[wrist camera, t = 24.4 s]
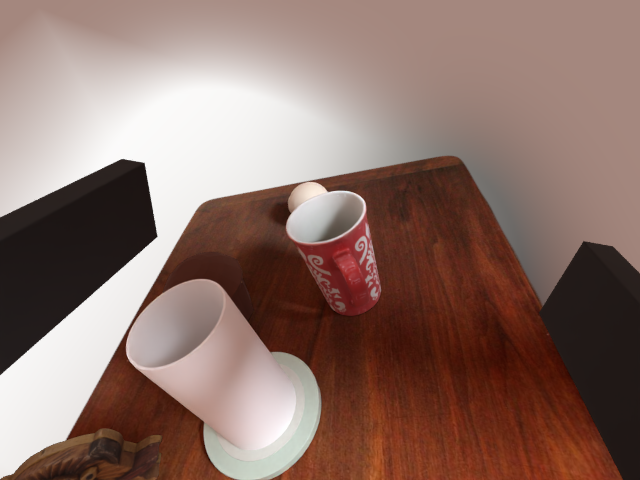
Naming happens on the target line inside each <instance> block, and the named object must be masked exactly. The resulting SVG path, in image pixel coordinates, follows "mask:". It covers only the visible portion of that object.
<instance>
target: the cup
mask: <svg viewBox="0 0 640 480" xmlns="http://www.w3.org/2000/svg"><path fill="white" fill-rule="evenodd" d="M126 353H127V357H128V359H129V361H130V362H131V363H132V365H133V366H134V367H135V368H136V369H138V370H139V371H140V372H141V373H143V374H144V375H145V376H147V377H148V378H149V379H150V380H152V381H153V382H154V383H155V384H157V385H158V386H159V387H160V388H162V389H163V390H164V391H166V392H167V393H168V394H169V395H171V396H172V397H173V398H174V399H176V400H177V401H178V402H180V403H181V404H182V405H183V406H185V407H186V408H187V409H189V410H190V411H191V412H192V413H194V414H195V415H196V416H197V417H199V418H200V419H201V420H203V421H204V422H205V423H206V424H208V425H209V426H210V427H211V428H213V429H214V430H215V431H217V432H218V433H219V434H220V435H222V436H223V437H224V438H225V439H227V440H228V441H229V442H231V443H232V444H233V445H234V446H236V447H238V448H240V449H243V450H258V449H261V448H264V447H266V446H268V445H270V444H272V443H273V442H274V441H276V440H277V439H278V438H279V437H280V436H281V435H282V434H283V433H284V431H285V430H286V429H287V427H288V426H289V424H290V422H291V420H292V418H293V415H294V412H295V407H296V393H295V389H294V386H293V384H292V382H291V381H290V379H289V378H288V376H287V375H286V374H285V372H284V371H283V370H282V368H281V367H280V365H279V364H278V363H277V361H276V360H275V359H274V357H273V356H272V354H271V353H270V352H269V350H268V349H267V348H266V346H265V345H264V344H263V342H262V341H261V339H260V338H259V337H258V335H257V334H256V333H255V331H254V330H253V328H252V327H251V326H250V324H249V323H248V322H247V320H246V319H245V318H244V316H243V315H242V313H241V312H240V311H239V309H238V308H237V307H236V305H235V304H234V302H233V301H232V300H231V298H230V297H229V296H228V294H227V293H226V292H225V290H224V289H223V288H222V287H221V286H220V285H219V284H218V283H216V282H214V281H212V280H208V279H196V280H190V281H187V282H184V283H181V284H179V285H176V286H174V287H172V288H170V289H169V290H167V291H166V292H164V293H162V294H161V295H160V296H158V297H157V298H156V299H155V300H154V301H152V302H151V303H150V304H149V305H148V306H147V307H146V308H145V309H144V310H143V312H142V313H141V314H140V315H139V317H138V318H137V319H136V321H135V323H134V324H133V326H132V328H131V330H130V332H129V335H128V338H127V343H126Z"/></svg>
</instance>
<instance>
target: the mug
mask: <svg viewBox="0 0 640 480" xmlns="http://www.w3.org/2000/svg"><path fill="white" fill-rule="evenodd" d="M366 210H367V208H366V204H365V201H364V200H363V199H362V198H361V197H360V196H359V195H357V194H355V193H352V192H348V191H333V192H327V193H323V194H320V195H317V196H314V197H312V198H310V199H308V200H306V201H305V202H303V203H302V204H301V205H299V206H298V207H297V208H296V209H295V210H294V211H293V212H292V213H291V215H290V216H289V218H288V220H287V223H286V232H287V235H288V237H289V238H290V239H291V240H292V241H293V242H294V243H295V245H296V247H297V249H298V251H299V253H300V254H301V256H302V258H303V259H304V261H305V263H306V265H307V267H308V268H309V270H310V271H311V273H312V275H313V277H314V279H315V281H316V283H317V284H318V286H319V288H320V290H321V291H322V293H323V295H324V297H325V299H326V301H327V302H328V304H329V306H330V307H331V308H332V309H333V310H334V311H335V312H337V313H339V314H342V315H347V316H353V315H359V314H362V313H364V312H366V311H368V310H369V309H371V308H372V307H373V306H374V305H375V304H376V303H377V301H378V299H379V297H380V294H381V286H380V281H379V276H378V271H377V266H376V261H375V256H374V251H373V247H372V241H371V236H370V231H369V226H368V221H367V216H366Z"/></svg>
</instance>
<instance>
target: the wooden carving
mask: <svg viewBox="0 0 640 480" xmlns="http://www.w3.org/2000/svg"><path fill="white" fill-rule="evenodd" d="M161 441H162V436H161V435H152V436H149V437H147V438H145V439H144V440H142V441H140V442H138V443H132V442H128V441H124V439H123V437H122V435H121V434H120V433H119V432H117V431H115V430H112V429H99V430H98V431H97V432H96V433H93V434H87V435H83V436H78V437H75V438H72V439H69V440H66V441H63V442H60V443H56V444H53V445H51V446H49V447H47V448H45V449H43V450H41V451H40V452H38V453H36V454H34V455H33V456H31V457H30V458H29V459H27V460H26V461H25V462H24V463H23V464H22V465H21V466H20V467H19V468H18V469H17V470H16V471H15V473H14V474H12V475H8V476H5V477H3V478H1V479H0V480H157V477H158V475H159V464H160V460H161V453H159V445H160V443H161Z"/></svg>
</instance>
